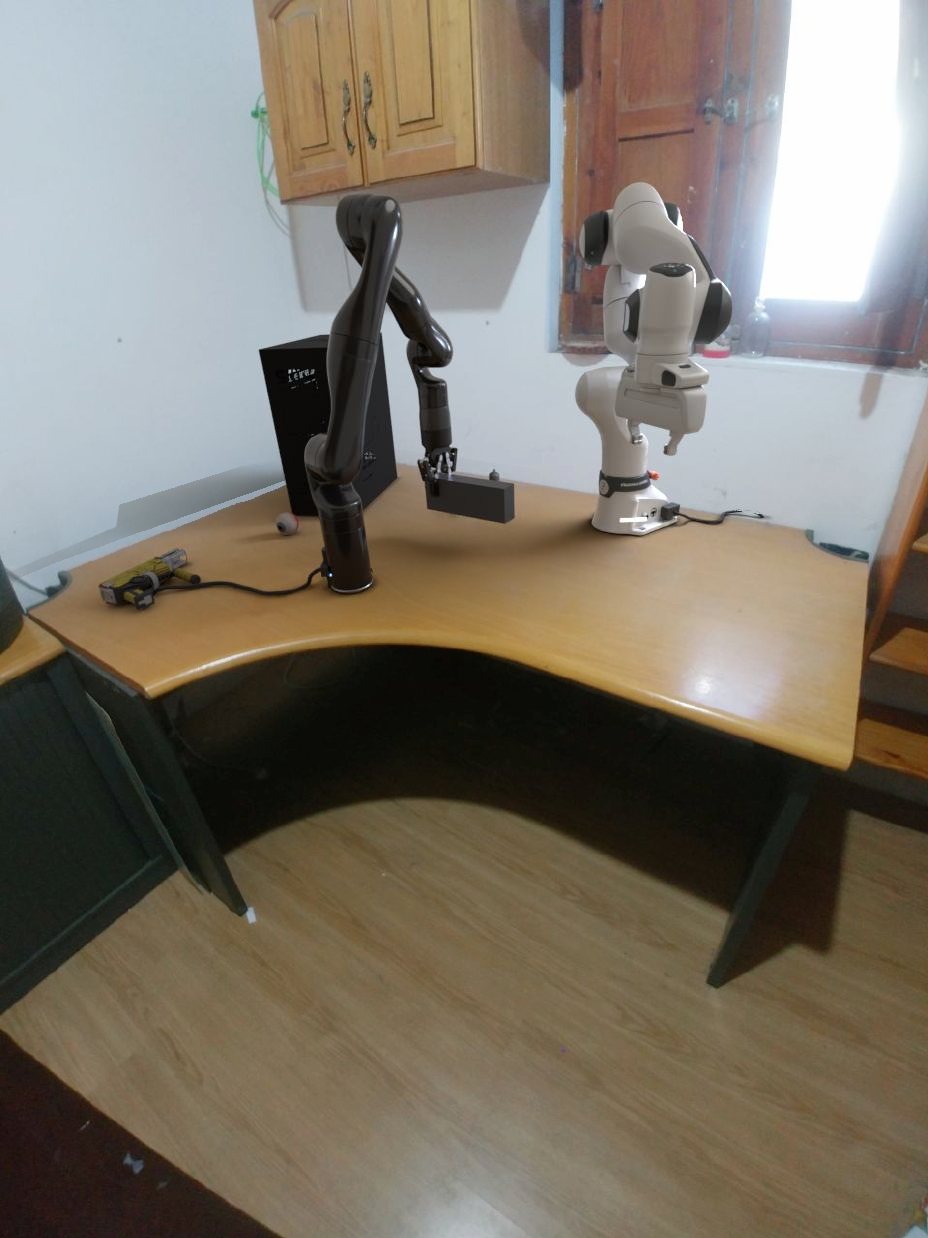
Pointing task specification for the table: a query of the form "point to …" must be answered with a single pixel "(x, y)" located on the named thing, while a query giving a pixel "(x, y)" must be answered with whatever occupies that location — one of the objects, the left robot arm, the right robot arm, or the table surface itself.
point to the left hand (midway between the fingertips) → (440, 493)
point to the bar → (473, 498)
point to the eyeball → (287, 523)
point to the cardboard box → (323, 418)
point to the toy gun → (146, 580)
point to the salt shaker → (494, 476)
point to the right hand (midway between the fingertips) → (652, 449)
